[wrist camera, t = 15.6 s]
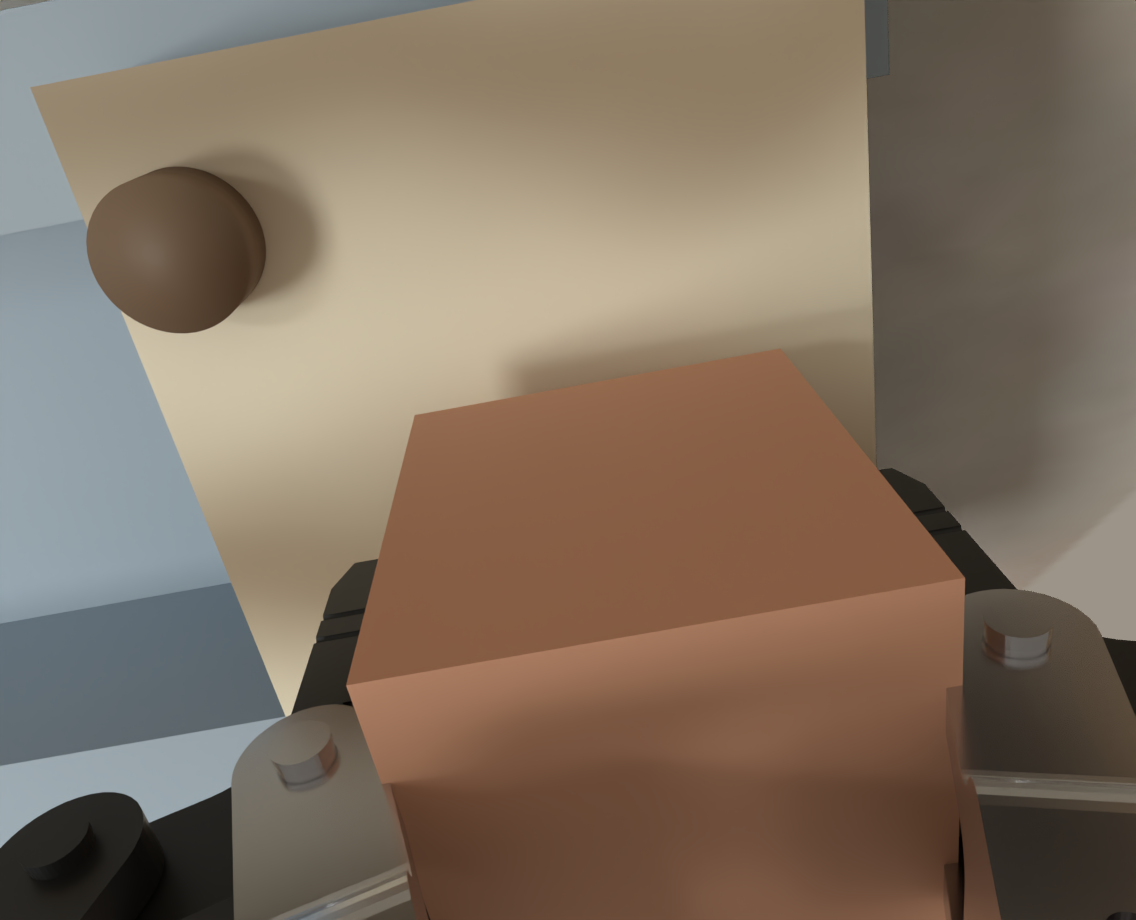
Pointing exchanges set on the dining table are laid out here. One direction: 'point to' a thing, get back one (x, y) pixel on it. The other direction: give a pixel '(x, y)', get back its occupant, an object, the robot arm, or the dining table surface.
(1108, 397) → the dining table surface
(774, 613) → the block
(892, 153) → the dining table surface
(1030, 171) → the dining table surface
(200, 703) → the stand
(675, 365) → the lid
